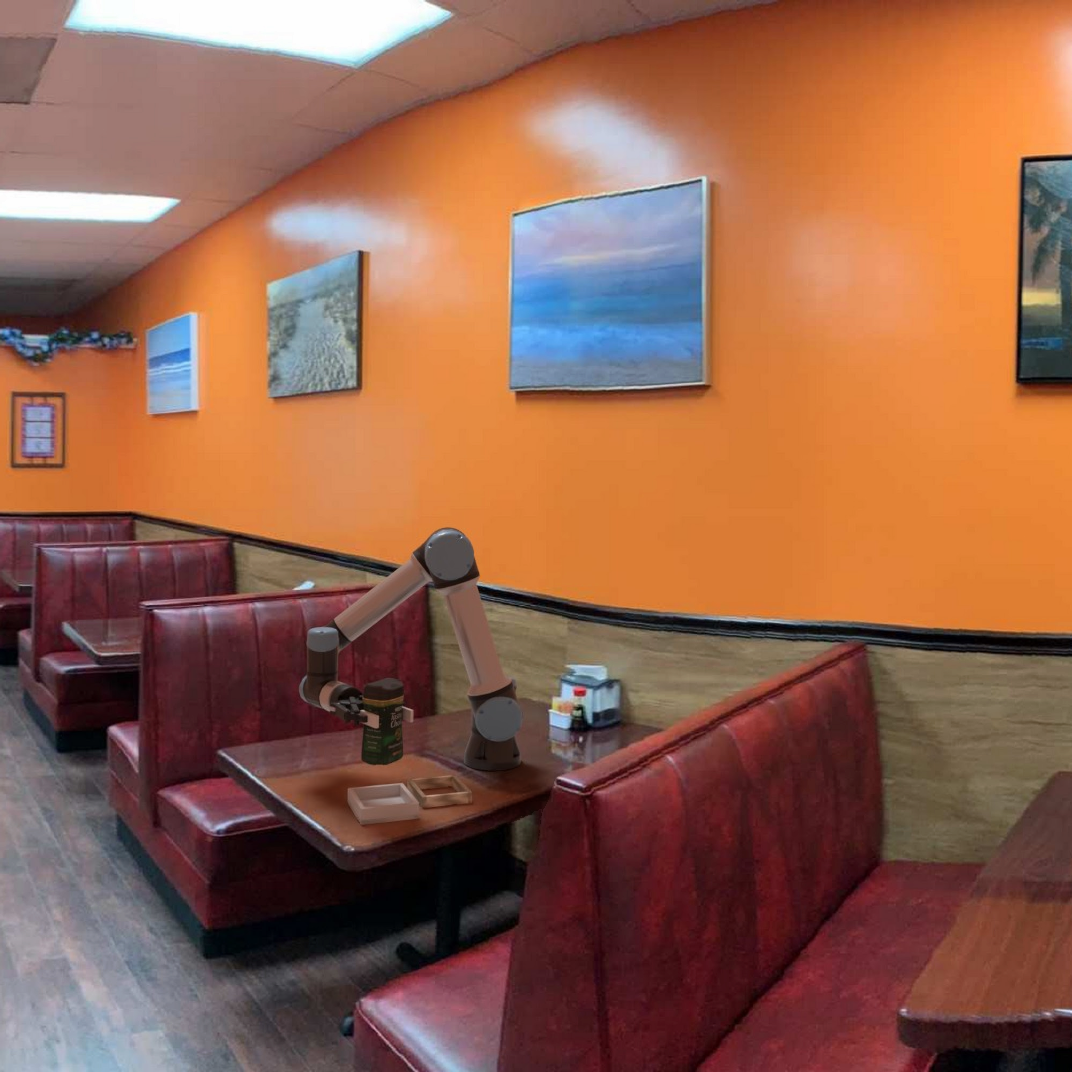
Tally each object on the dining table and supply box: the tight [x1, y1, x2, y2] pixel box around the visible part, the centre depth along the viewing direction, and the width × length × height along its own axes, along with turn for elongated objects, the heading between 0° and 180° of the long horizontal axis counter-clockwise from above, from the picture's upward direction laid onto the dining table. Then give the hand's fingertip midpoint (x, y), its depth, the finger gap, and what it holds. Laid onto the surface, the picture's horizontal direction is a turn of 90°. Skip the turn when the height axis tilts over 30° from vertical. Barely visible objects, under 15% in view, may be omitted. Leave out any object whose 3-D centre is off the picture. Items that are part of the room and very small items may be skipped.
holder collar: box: [406, 774, 473, 809], centre depth 241 cm, size 12×14×2 cm
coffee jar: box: [360, 677, 405, 766], centre depth 229 cm, size 10×8×19 cm
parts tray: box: [347, 782, 420, 826], centre depth 230 cm, size 13×15×4 cm
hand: (394, 719), depth 226 cm, fingers closed on coffee jar, 8 cm apart
